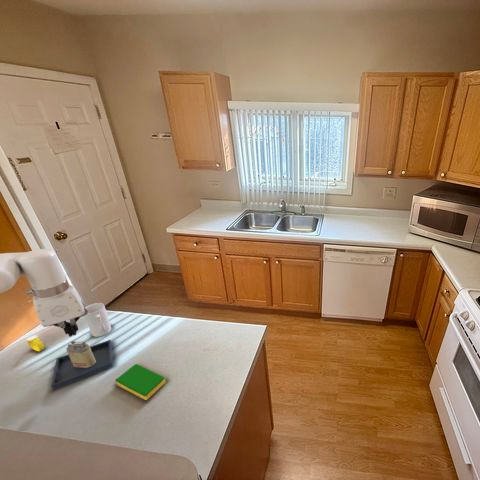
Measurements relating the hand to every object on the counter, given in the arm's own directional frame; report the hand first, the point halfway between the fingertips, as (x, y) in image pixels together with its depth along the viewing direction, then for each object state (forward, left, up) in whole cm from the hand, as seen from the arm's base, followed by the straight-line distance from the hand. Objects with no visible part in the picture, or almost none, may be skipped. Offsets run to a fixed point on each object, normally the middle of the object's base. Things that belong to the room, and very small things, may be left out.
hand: (73, 333), depth 85 cm
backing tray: (0, 0, -15) cm, 15 cm away
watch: (-14, +18, -15) cm, 27 cm away
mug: (+5, +15, -15) cm, 21 cm away
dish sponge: (+15, -20, -15) cm, 29 cm away
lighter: (0, 0, -14) cm, 14 cm away
